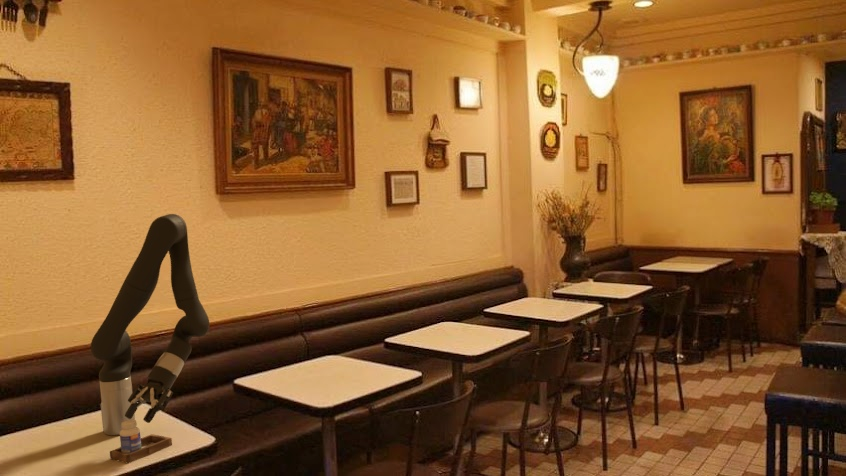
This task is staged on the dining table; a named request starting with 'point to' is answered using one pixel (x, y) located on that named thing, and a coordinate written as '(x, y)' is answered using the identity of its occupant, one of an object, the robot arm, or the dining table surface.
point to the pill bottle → (130, 437)
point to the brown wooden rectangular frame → (159, 444)
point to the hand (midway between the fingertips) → (136, 419)
